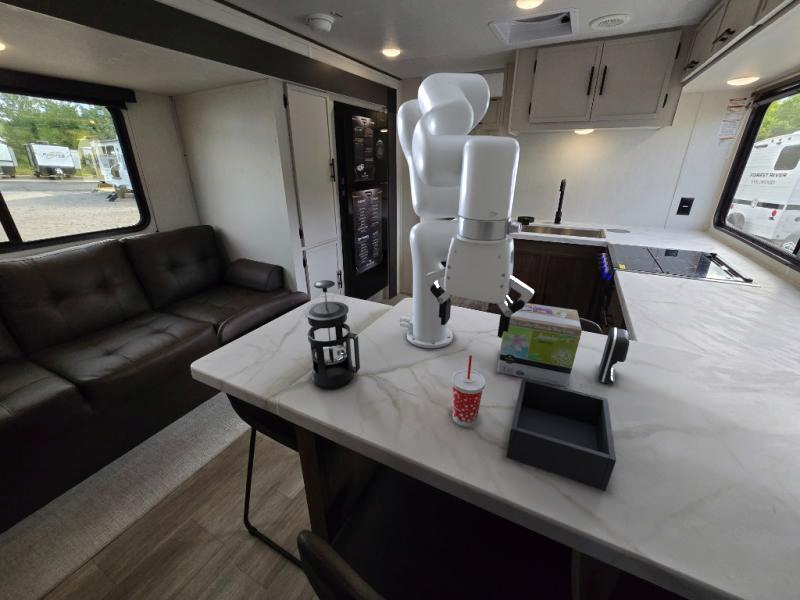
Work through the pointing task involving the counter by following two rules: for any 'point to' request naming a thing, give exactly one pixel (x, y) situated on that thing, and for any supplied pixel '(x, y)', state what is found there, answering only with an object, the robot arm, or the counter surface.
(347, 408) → the counter surface
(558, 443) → the black open box
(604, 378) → the battery charger
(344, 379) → the french press
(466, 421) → the beverage cup
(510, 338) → the tea box
